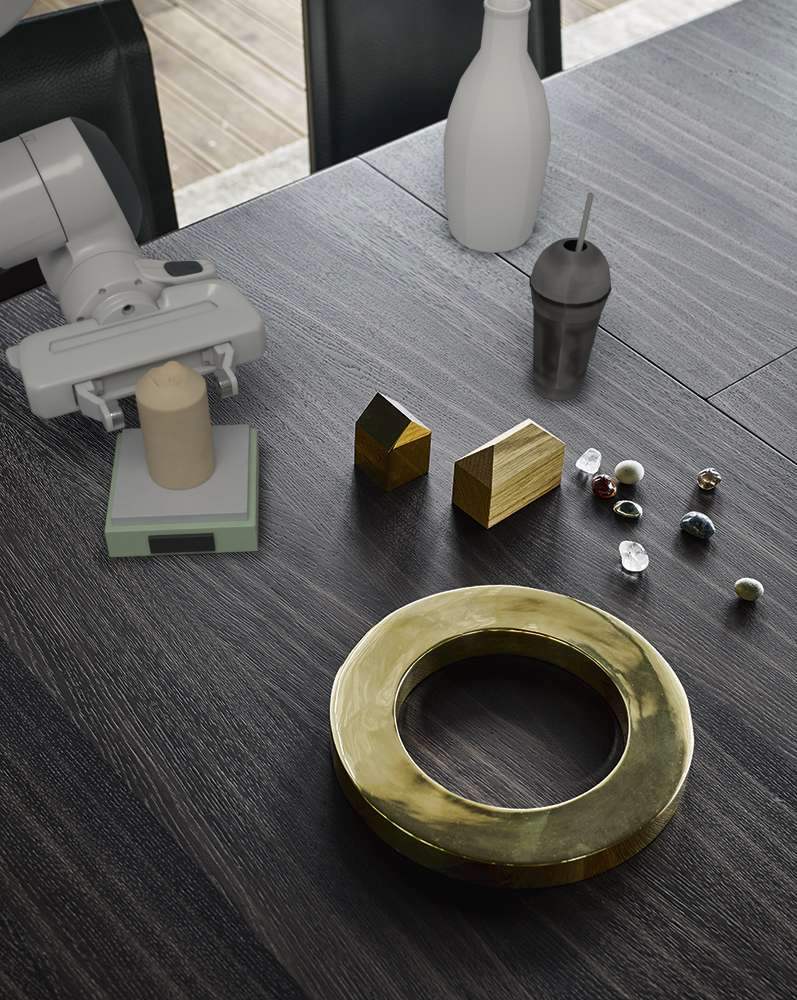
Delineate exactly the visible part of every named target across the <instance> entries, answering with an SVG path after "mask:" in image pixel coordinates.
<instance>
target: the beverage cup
mask: <svg viewBox="0 0 797 1000" xmlns="http://www.w3.org/2000/svg"><path fill="white" fill-rule="evenodd" d="M594 197H595V193H593V192H590V191H589V192H588V193H587V196H586V200H585V205H584V210H583V214H582V220H581V224H580V228H579V233H578V237H566V238H565V237H564V238H561V239H558V240H556V241H553V242H552V243H551V244H549V245H548V246H547V247H546V248H544V249H543V250H542V251H541V253H540V254H539V256H538V257H537V260H536V261H535V263H534V264H533V267H532V271H531V274H530V276H529V278H528V281H529V282H528V283H529V288H530V296H531V304H532V306H533V307H532V308H533V309H532V311H533V312H532V313H533V314H532V316H533V317H532V321H533V322H532V375H533V388H534V391H535V392H536V393H537V394H538V395H539V396H541V397H542V398H545V399H546V400H551V401H554V402H556V401H557V402H563V401H570V400H572V399H574V398H576V397H577V396H578V395H580V393H581V390H582V387H583V386H582V385H583V383H584V380H585V378H586V374H587V370H588V367H589V362H590V359H591V355H592V352H593V348H594V344H595V340H596V337H597V331H598V328H599V323H600V320H601V316H602V313H603V310H604V308H605V307H606V304H607V301H608V299H609V297H610V294H611V292H612V279H611V270H610V269H611V268H610V265H609V262H608V260H607V257H606V256H605V255H604V253H603V252H602V250H601V248H599V247H598V246H597V245H595V244H594V243H593V242H591V241H589V240H586V239H585V237H586V233H587V228H588V223H589V219H590V215H591V211H592V205H593V201H594Z"/></svg>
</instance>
